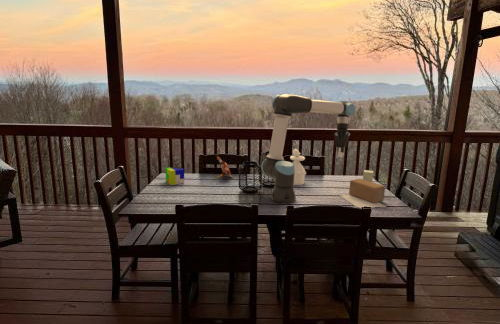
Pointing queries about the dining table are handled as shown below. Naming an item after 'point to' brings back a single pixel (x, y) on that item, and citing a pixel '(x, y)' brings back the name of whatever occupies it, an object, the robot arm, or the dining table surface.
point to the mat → (361, 202)
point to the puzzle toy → (174, 175)
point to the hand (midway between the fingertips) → (340, 157)
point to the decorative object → (298, 168)
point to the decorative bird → (224, 168)
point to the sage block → (368, 175)
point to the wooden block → (367, 190)
